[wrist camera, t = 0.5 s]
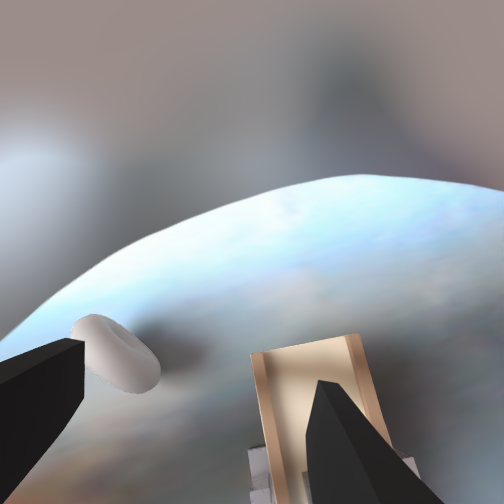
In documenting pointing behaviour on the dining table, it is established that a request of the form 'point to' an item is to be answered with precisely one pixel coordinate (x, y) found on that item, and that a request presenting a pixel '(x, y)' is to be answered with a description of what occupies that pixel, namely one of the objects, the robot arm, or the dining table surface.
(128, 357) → the donut
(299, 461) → the beam
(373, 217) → the dining table surface
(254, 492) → the pivot stand
